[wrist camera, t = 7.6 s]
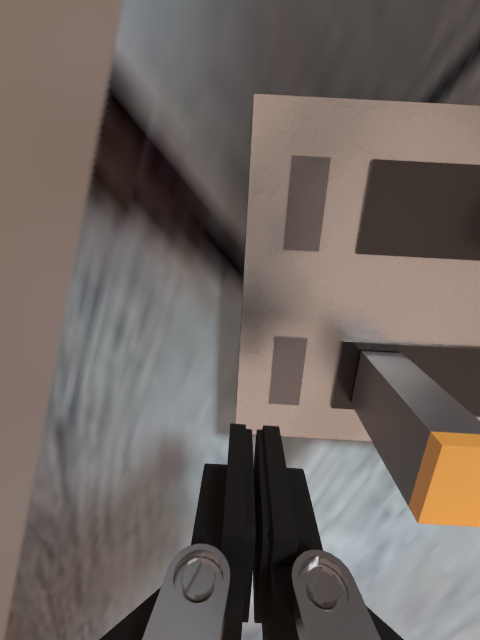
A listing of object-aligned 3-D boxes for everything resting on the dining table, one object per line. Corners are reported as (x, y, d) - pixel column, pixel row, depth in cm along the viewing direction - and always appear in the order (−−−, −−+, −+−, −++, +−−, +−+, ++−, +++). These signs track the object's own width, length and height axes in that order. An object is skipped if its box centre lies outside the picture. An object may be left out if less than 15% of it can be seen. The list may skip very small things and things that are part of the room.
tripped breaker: (361, 350, 15) (442, 445, 9) (402, 353, 15) (512, 449, 9) (351, 403, 16) (417, 523, 10) (389, 405, 16) (481, 527, 10)
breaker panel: (252, 114, 14) (253, 91, 12) (724, 139, 14) (828, 121, 12) (236, 407, 19) (234, 435, 17) (585, 427, 19) (637, 459, 17)
